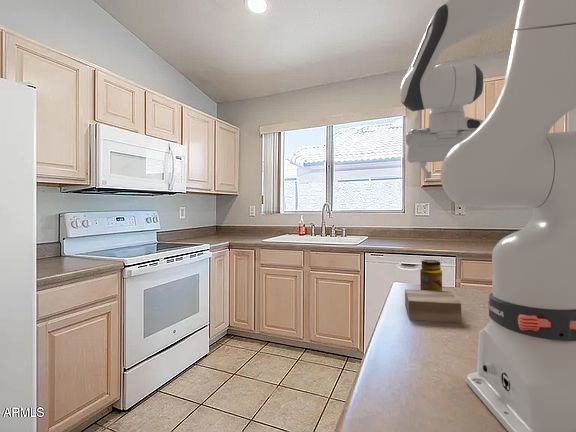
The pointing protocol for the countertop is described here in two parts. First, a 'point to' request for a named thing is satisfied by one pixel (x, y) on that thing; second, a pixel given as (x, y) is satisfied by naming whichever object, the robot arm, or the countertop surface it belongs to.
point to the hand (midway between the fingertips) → (446, 177)
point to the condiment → (431, 275)
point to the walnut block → (432, 305)
